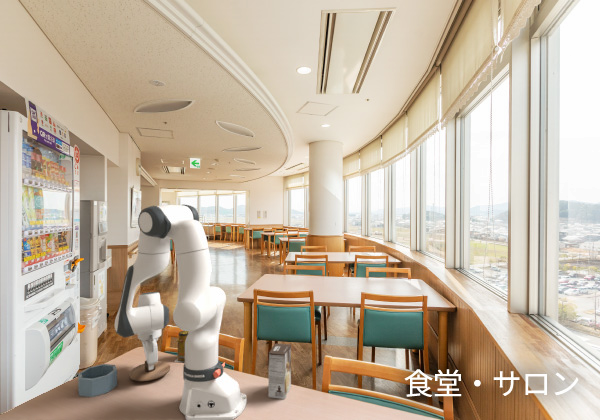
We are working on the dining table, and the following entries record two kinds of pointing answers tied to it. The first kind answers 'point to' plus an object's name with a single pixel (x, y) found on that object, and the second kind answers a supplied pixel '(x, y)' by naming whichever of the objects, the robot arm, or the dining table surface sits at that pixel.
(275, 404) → the dining table surface
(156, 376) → the lid
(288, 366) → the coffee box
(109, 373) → the bowl
